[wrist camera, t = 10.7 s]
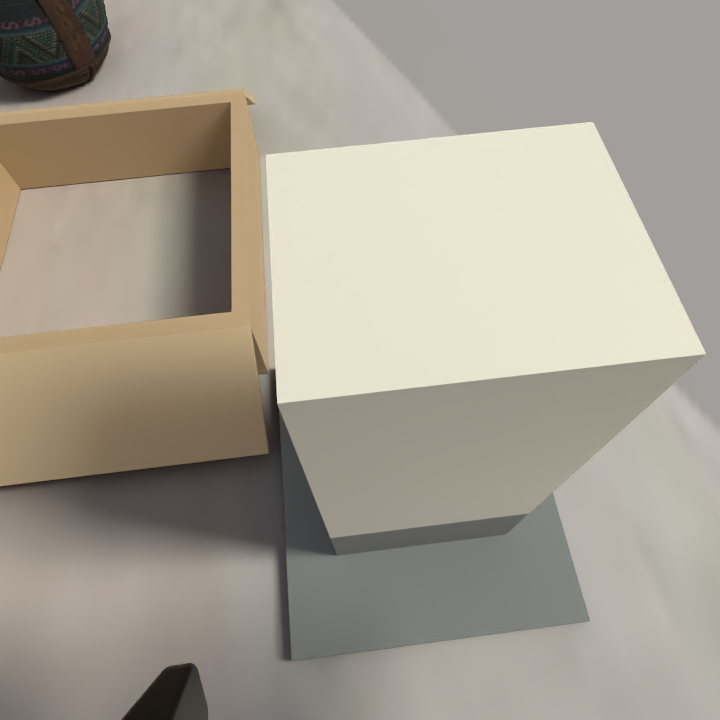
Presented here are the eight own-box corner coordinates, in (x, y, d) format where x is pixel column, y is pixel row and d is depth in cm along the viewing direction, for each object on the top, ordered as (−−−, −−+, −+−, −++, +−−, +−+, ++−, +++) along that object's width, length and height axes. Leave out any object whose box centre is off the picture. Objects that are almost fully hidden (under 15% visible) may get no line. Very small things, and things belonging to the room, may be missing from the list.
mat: (585, 621, 17) (589, 621, 16) (293, 661, 16) (291, 661, 16) (505, 343, 21) (507, 337, 21) (278, 369, 21) (276, 364, 21)
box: (505, 534, 17) (706, 354, 7) (337, 555, 17) (277, 404, 7) (475, 407, 20) (592, 122, 9) (325, 425, 19) (266, 154, 9)
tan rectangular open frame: (271, 460, 19) (251, 422, 16) (-77, 502, 19) (-168, 472, 16) (257, 110, 28) (242, 42, 25) (23, 133, 28) (-22, 67, 25)
